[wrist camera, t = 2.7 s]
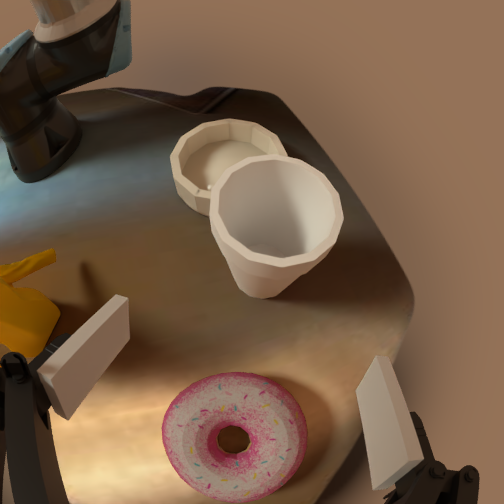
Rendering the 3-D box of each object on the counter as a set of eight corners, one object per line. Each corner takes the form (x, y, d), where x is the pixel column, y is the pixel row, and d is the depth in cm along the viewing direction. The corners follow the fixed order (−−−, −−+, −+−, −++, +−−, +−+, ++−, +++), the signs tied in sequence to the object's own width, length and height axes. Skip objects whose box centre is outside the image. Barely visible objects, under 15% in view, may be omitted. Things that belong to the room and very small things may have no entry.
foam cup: (290, 227, 34) (316, 150, 22) (314, 301, 30) (362, 249, 18) (211, 241, 32) (200, 164, 20) (228, 321, 28) (222, 279, 17)
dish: (170, 151, 38) (165, 131, 34) (262, 133, 40) (264, 113, 37) (186, 232, 32) (180, 213, 29) (297, 205, 35) (304, 186, 31)
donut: (241, 346, 28) (243, 340, 23) (327, 433, 24) (344, 443, 19) (143, 421, 23) (126, 428, 19) (230, 508, 20) (229, 529, 15)
